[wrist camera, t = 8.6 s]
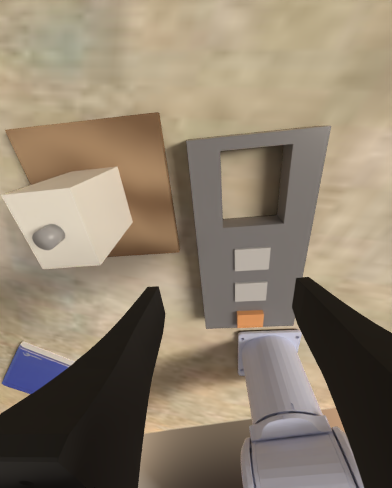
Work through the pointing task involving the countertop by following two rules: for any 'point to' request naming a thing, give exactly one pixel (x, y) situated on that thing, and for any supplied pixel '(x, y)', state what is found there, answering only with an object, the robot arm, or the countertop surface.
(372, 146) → the countertop surface
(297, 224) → the power strip
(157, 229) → the coaster
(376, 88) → the countertop surface
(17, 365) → the hard drive
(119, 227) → the block
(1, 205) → the countertop surface
